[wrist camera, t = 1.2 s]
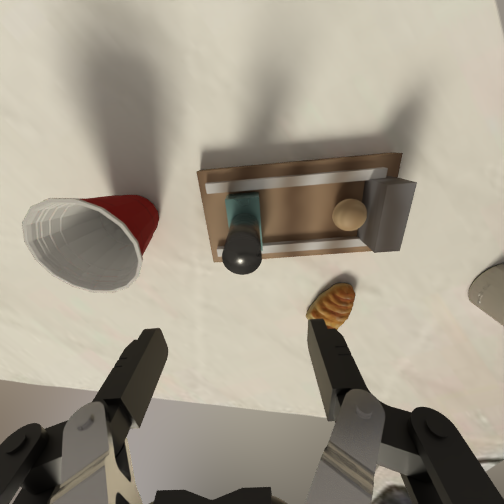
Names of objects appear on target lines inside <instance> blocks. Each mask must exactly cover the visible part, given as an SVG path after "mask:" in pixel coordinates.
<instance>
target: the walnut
mask: <svg viewBox="0 0 504 504" xmlns="http://www.w3.org/2000/svg"><path fill="white" fill-rule="evenodd" d="M332 218H333V221H334V223H335V225H336V226H337V227H338V228H340V229H342V230H345V231H352V230H356V229H358V228H360V227H361V226H362V225H363V224H364V222H365V221H366V218H367V209H366V207H365V205H364V204H363V203H362V202H361V201H359V200H356V199H346V200H343V201H341V202H340V203H338V204H337V205H336V207H335V208H334V210H333V214H332Z"/></svg>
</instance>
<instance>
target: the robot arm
mask: <svg viewBox="0 0 504 504" xmlns="http://www.w3.org/2000/svg"><path fill="white" fill-rule="evenodd" d="M468 297H469V300H470V301H471V302H472V303H473V304H474V305H476V306H477V307H478V308H480V309H481V310H482V311H484V312H485V313H486V314H488V315H489V316H491V317H492V318H493V319H494V320H496V321H497V322H499V323H500V324H501V325H503V326H504V264H500V265H497V266H494V267H492V268H490V269H488V270H487V271H485V272H484V273H482V274H481V275H480V276H479V277H478V278H477V279H476V280H475V281H474V282H473V283H472V285H471V287H470V289H469V293H468ZM307 342H308V349H309V353H310V357H311V361H312V365H313V368H314V372H315V376H316V379H317V383H318V387H319V390H320V394H321V398H322V402H323V405H324V409H325V413H326V416H327V420H328V421H335V426H334V429H333V431H332V434H331V437H330V440H329V442H328V445H327V447H326V448H325V450H324V452H323V454H322V457H321V460H320V462H319V465H318V468H317V471H316V474H315V476H314V479H313V482H312V484H311V487H310V490H309V493H308V496H307V498H306V501H305V504H371V500H372V494H373V487H374V482H373V481H374V474H375V468H376V464H378V465H380V466H383V467H385V468H388V469H391V470H394V471H396V472H399V473H400V474H401V477H402V479H403V482H404V484H405V487H406V489H407V492H408V494H409V497H410V499H411V502H412V504H504V499H503V498H502V497H501V495H500V493H499V492H498V490H497V489H496V487H495V486H494V484H493V483H492V481H491V480H490V478H489V477H488V475H487V474H486V472H485V471H484V469H483V467H482V466H481V464H480V463H479V461H478V460H477V458H476V457H475V455H474V454H473V452H472V451H471V449H470V448H469V446H468V445H467V443H466V442H465V440H464V439H463V437H462V436H461V434H460V433H459V431H458V430H457V428H456V427H455V426H454V424H453V423H452V422H451V421H450V420H449V419H448V418H446V417H445V416H444V415H443V414H441V413H439V412H438V411H436V410H434V409H431V408H427V407H418V408H416V409H414V410H413V411H412V413H411V412H408V411H404V410H401V409H397V408H394V407H391V406H388V405H386V404H384V403H382V402H380V401H379V400H378V399H377V398H376V397H375V396H373V395H372V394H371V393H370V391H369V390H368V388H367V386H366V384H365V382H364V380H363V378H362V376H361V374H360V372H359V369H358V367H357V365H356V363H355V361H354V359H353V357H352V356H351V352H350V350H349V348H348V347H347V344H346V342H345V339H344V337H343V336H342V335H341V334H340V333H339V332H338V331H337V330H336V329H335V328H332V329H328V328H327V326H326V323H325V321H324V319H323V318H322V319H309V320H308V337H307ZM167 357H168V347H167V344H166V341H165V339H164V336H163V334H162V331H161V329H160V328H153V329H144V330H143V331H142V333H141V335H140V336H139V338H138V340H133V341H132V342H131V343H130V344H129V345H128V346H127V347H126V348H125V349H124V351H123V353H122V354H121V356H120V358H119V360H118V361H117V362H116V364H115V366H114V368H113V369H112V371H111V372H110V374H109V375H108V377H107V379H106V380H105V382H104V383H103V385H102V387H101V388H100V390H99V392H98V393H97V395H96V397H95V398H94V400H93V401H92V402H91V403H88V404H86V405H84V406H83V407H81V408H80V409H79V410H77V411H76V412H75V413H74V414H73V415H72V416H71V417H70V419H69V420H68V421H65V422H62V423H59V424H57V425H54V426H52V427H49V428H46V429H44V428H43V427H41V425H39V424H37V423H32V424H28V425H26V426H23V427H22V428H20V429H18V430H17V431H16V432H14V433H13V434H11V435H10V436H9V437H8V438H7V439H6V440H5V441H4V442H3V443H2V444H1V445H0V504H9V503H10V501H11V500H12V498H13V497H14V495H15V493H16V492H17V490H18V489H19V487H22V489H21V491H20V493H19V494H18V496H17V497H16V499H15V501H14V502H13V504H143V503H142V500H141V497H140V494H139V492H138V490H137V487H136V483H135V478H134V472H133V467H132V462H131V456H130V451H129V445H128V441H127V438H126V437H127V434H128V432H129V430H130V429H136V428H140V426H141V423H142V421H143V418H144V415H145V413H146V411H147V408H148V406H149V403H150V401H151V398H152V396H153V393H154V390H155V388H156V385H157V383H158V380H159V378H160V375H161V373H162V370H163V368H164V365H165V363H166V360H167ZM150 504H287V503H286V502H284V501H283V500H281V499H279V498H277V497H275V496H272V493H271V487H257V488H241V489H239V490H237V491H234V492H232V493H229V494H226V495H224V496H222V497H219V498H217V499H214V500H209V499H207V498H204V497H202V496H199V495H196V494H194V493H191V492H189V491H186V490H163V491H157V493H156V496H155V500H154V501H153V502H151V503H150Z"/></svg>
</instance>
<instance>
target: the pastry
mask: <svg viewBox="0 0 504 504" xmlns="http://www.w3.org/2000/svg"><path fill="white" fill-rule="evenodd" d="M354 298H355V292H354V290H353V288H352V286H351V285H349V284H347V283H337V284H335V285H333V286H332V287H331V288H330V289H328V290H326V291H325V292H323V293H321V294H320V295H319V296H318V298H317V299H316V300H315V301H314V303H312V305H311V306H310V308H309V310H308V311H307V313H306V318H307V319H308V320H309V319H322V318H323V319H324V321H325V323H326V326H327V328H328V329H332V328H335V329H336V330H337V329H338V327H340V326H341V325H342V324H343V323H344V322H345V320H347V319H348V317H349V315H350V312H351V310H352V307H353V302H354Z"/></svg>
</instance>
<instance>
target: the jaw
mask: <svg viewBox="0 0 504 504" xmlns="http://www.w3.org/2000/svg"><path fill="white" fill-rule="evenodd" d="M225 205H226V212H227V219H228V226H229V231H228V234H227V238H226V242H225V245H224V249H223V252H222V261H223V263H224V265H225V267H226V268H227V269H228V270H230V271H231V272H233V273H236V274H241V275H244V274H249V273H252V272H253V271H255V270H256V269H257V268H258V267H259V266H260V264H261V261H262V252H261V251H263V246H262V232H261V217H260V203H259V192H249V193H237V194H227V196H226V198H225Z"/></svg>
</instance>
